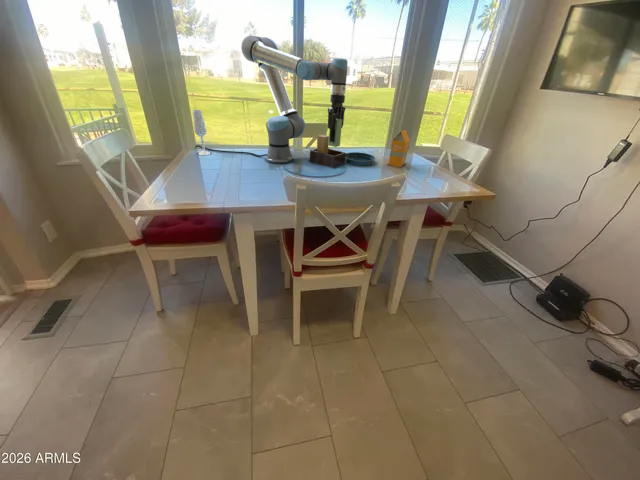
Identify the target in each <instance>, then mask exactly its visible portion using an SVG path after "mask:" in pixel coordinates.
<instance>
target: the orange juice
mask: <svg viewBox="0 0 640 480" xmlns="http://www.w3.org/2000/svg"><path fill="white" fill-rule="evenodd" d="M410 142H411V139H410V137H409V134H408V132H407V129H402V130H401V131H399V133H398V134H397V135H395V137H394V138H393V139H392V143H391V148H390V151H389V152H390V153H389V159H388V164H387V165H388V166H393V167H398V168H401V167H402V166H404V165H405V164H406V160H407V155H408V151H409V146H410Z"/></svg>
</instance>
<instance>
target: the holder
mask: <svg viewBox="0 0 640 480" xmlns="http://www.w3.org/2000/svg"><path fill="white" fill-rule="evenodd" d="M346 153H347V152H345V151H340V150H336V149H332V148H329V147H328V154H325V153H321V152H317V147H315V148H312V149H310V150H309V162H310V163H315V164H318V165H320V166H321V165H322V166H324V167H327V168H332V169H335V168H336V167H339V166H341V165H344V164H346V163H345V156H346Z"/></svg>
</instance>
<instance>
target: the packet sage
mask: <svg viewBox="0 0 640 480" xmlns="http://www.w3.org/2000/svg"><path fill="white" fill-rule="evenodd" d="M341 127H342V119H336V123H335V128H334V129H335V140H334V142H330V130H329V132H328V133H329V134H328V136H329V145H328V147H334V148H337V147H340V146H341V138H342V128H343V127H342V128H341Z"/></svg>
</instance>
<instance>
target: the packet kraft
mask: <svg viewBox="0 0 640 480" xmlns="http://www.w3.org/2000/svg"><path fill="white" fill-rule="evenodd" d="M316 148H317V152H321V153H325V154H328V148H329V135H325V134H319V135H317V145H316Z"/></svg>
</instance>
